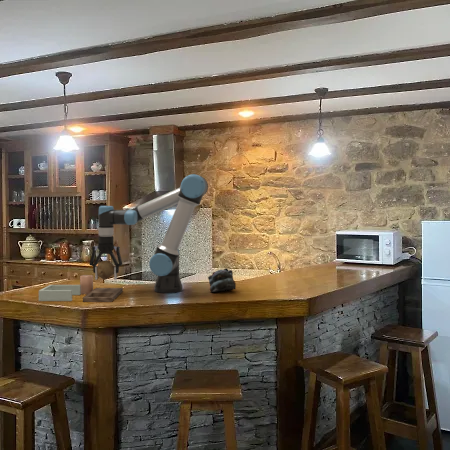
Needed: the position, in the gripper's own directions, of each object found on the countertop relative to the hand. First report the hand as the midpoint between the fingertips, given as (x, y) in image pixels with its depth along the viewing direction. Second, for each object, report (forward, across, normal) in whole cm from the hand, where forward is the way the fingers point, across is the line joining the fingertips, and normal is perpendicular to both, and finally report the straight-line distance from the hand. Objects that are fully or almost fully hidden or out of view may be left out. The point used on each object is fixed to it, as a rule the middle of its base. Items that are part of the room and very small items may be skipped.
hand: (106, 279), depth 247 cm
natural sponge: (0, 0, 0) cm, 0 cm away
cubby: (+8, +20, +9) cm, 24 cm away
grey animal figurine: (+8, -60, -8) cm, 61 cm away
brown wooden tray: (+8, 0, +6) cm, 10 cm away
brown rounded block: (+8, +11, -3) cm, 14 cm away
